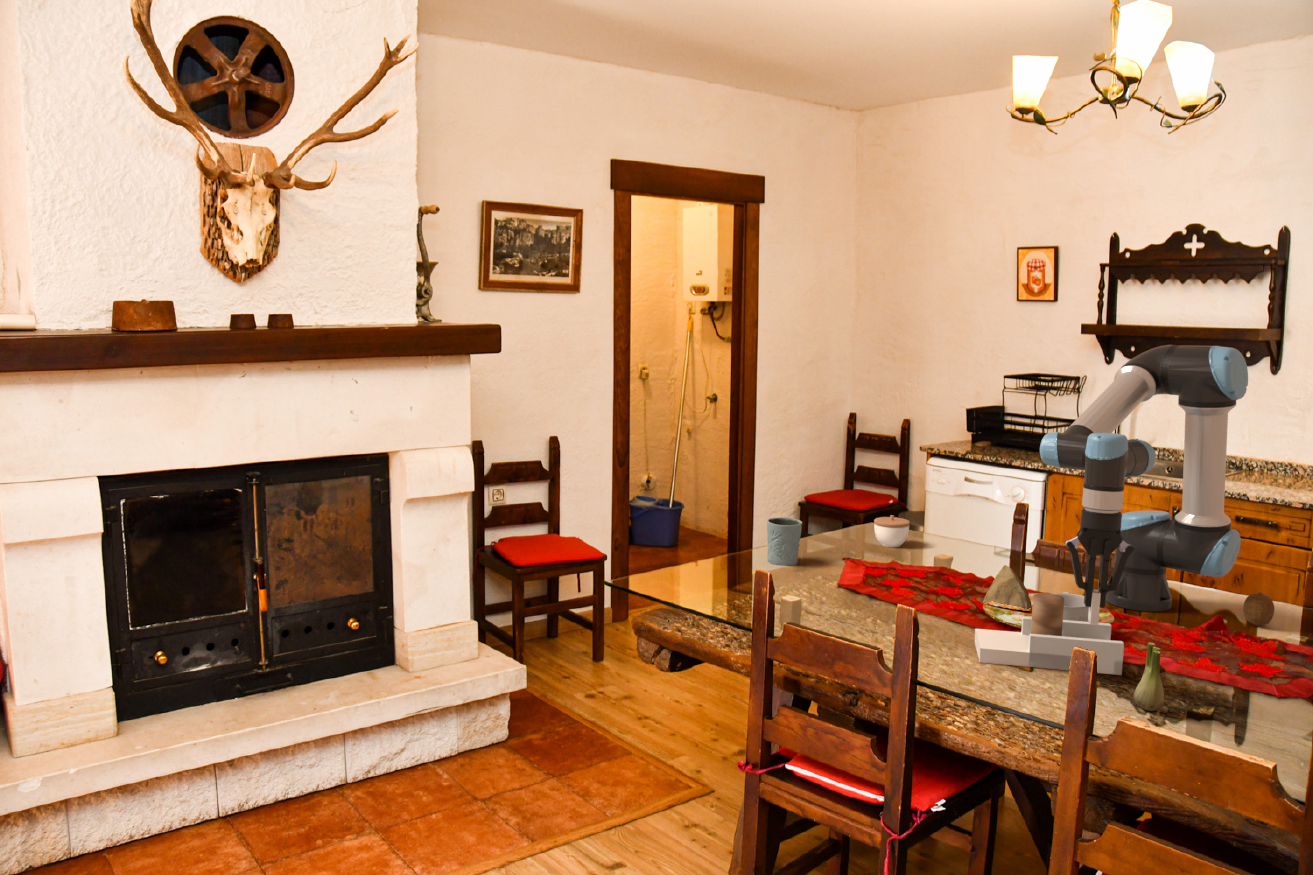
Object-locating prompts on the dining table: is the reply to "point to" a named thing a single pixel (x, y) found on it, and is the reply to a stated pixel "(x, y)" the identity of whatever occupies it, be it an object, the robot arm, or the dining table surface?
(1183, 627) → the dining table surface
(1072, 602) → the teacup
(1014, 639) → the channel
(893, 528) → the lidded jar
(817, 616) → the dining table surface
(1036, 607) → the brown cylinder
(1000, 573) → the rock
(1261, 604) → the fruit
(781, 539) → the embossed blue-grey cup
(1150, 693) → the fennel bulb
